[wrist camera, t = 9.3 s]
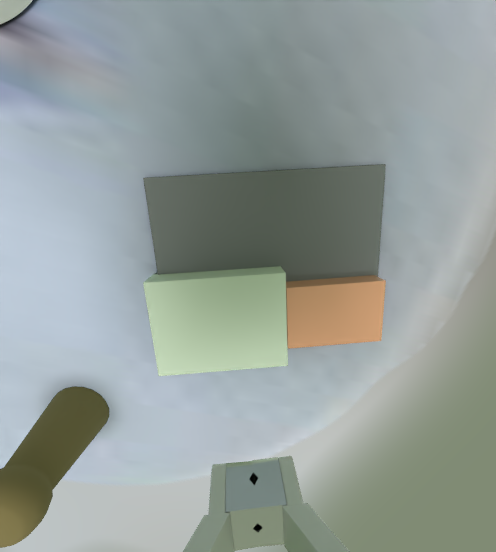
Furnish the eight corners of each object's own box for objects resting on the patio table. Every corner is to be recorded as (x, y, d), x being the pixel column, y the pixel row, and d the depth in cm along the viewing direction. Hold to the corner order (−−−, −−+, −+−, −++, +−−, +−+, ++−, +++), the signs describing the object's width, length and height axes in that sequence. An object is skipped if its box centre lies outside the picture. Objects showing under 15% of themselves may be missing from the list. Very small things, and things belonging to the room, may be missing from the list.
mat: (144, 178, 23) (143, 178, 22) (383, 165, 23) (385, 164, 23) (169, 344, 27) (168, 346, 26) (371, 329, 28) (373, 330, 27)
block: (282, 281, 25) (286, 288, 23) (374, 275, 26) (385, 280, 24) (284, 338, 27) (288, 348, 25) (370, 331, 27) (381, 340, 25)
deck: (153, 273, 25) (143, 282, 22) (279, 265, 25) (285, 272, 22) (166, 358, 27) (158, 376, 24) (282, 349, 28) (287, 365, 25)
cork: (119, 402, 28) (49, 519, 18) (94, 441, 29) (15, 574, 19) (64, 377, 27) (-44, 486, 17) (41, 419, 28) (-74, 546, 18)
